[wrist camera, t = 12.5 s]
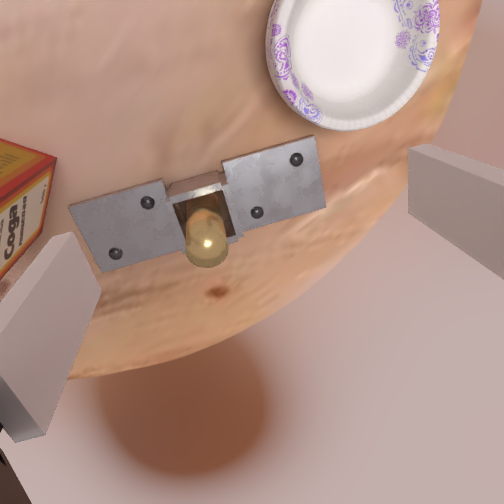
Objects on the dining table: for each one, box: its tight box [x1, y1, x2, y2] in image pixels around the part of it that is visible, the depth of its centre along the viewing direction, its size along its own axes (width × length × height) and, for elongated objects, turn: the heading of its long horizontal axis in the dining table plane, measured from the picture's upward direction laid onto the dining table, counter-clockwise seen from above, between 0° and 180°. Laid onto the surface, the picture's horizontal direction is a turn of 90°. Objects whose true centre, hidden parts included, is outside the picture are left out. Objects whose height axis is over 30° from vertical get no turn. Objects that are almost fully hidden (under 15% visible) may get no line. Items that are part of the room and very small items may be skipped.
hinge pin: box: [185, 192, 228, 268], centre depth 40 cm, size 4×4×12 cm
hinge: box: [68, 135, 326, 273], centre depth 43 cm, size 29×9×5 cm, turn 104°
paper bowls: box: [265, 0, 440, 132], centre depth 36 cm, size 15×15×8 cm
